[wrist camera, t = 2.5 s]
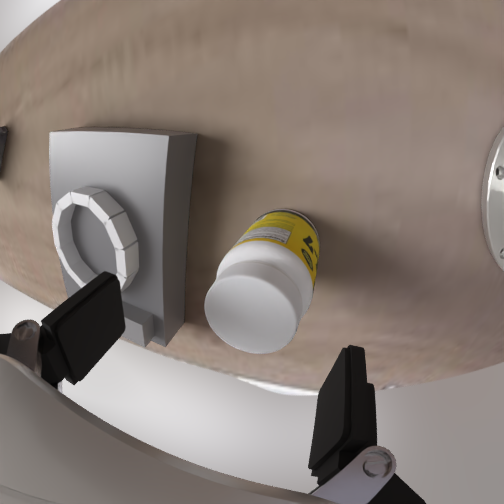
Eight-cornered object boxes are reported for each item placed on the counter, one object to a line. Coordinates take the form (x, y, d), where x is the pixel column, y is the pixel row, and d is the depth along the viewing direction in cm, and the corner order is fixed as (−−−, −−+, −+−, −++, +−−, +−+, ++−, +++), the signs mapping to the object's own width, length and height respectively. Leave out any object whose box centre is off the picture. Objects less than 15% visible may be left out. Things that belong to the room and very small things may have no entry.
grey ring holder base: (197, 133, 17) (153, 137, 12) (184, 322, 24) (156, 358, 20) (80, 127, 19) (35, 134, 15) (89, 281, 26) (58, 305, 22)
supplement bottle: (319, 276, 19) (304, 367, 11) (252, 272, 20) (205, 353, 13) (321, 207, 17) (309, 271, 9) (247, 206, 18) (185, 263, 11)
